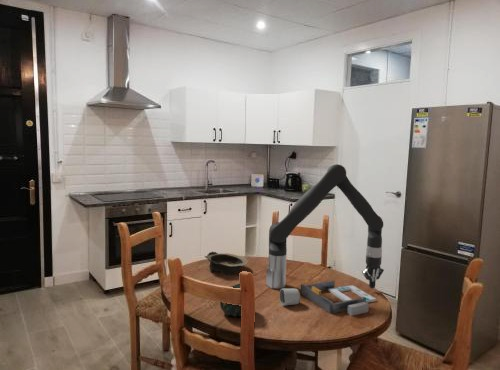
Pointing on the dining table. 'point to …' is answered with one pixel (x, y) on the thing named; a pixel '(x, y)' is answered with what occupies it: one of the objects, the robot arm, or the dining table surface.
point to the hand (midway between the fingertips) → (372, 287)
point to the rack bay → (315, 295)
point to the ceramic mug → (289, 296)
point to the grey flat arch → (354, 289)
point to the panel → (357, 308)
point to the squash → (231, 306)
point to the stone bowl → (225, 262)
